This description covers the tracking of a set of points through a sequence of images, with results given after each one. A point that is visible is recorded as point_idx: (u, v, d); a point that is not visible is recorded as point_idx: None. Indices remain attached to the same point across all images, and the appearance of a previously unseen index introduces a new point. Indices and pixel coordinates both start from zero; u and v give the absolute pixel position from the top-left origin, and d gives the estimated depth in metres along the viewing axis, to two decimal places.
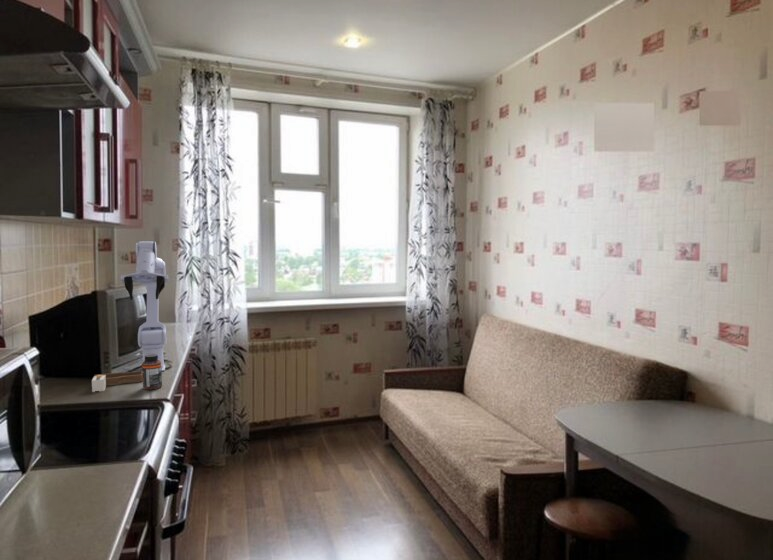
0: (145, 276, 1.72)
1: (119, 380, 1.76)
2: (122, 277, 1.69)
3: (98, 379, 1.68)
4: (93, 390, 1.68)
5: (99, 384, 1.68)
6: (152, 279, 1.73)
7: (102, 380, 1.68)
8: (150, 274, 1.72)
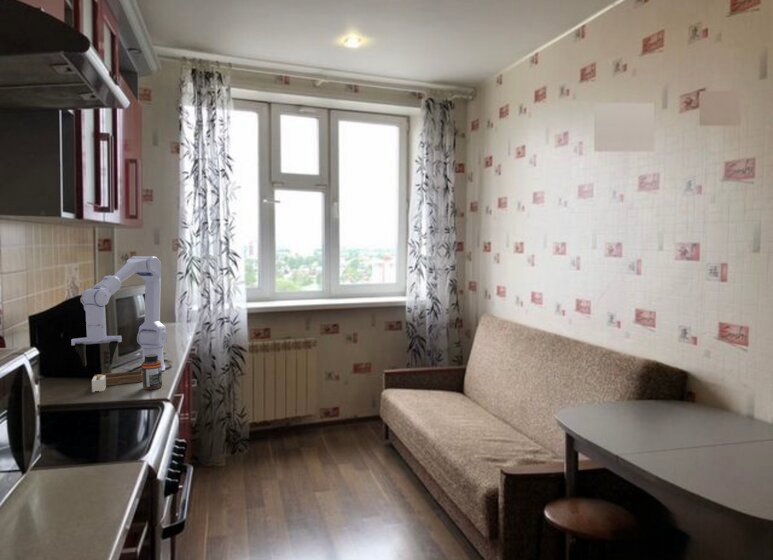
0: None
1: (119, 380, 1.76)
2: (73, 343, 1.66)
3: (98, 379, 1.68)
4: (93, 390, 1.68)
5: (99, 384, 1.68)
6: (104, 341, 1.70)
7: (102, 380, 1.68)
8: (102, 340, 1.68)
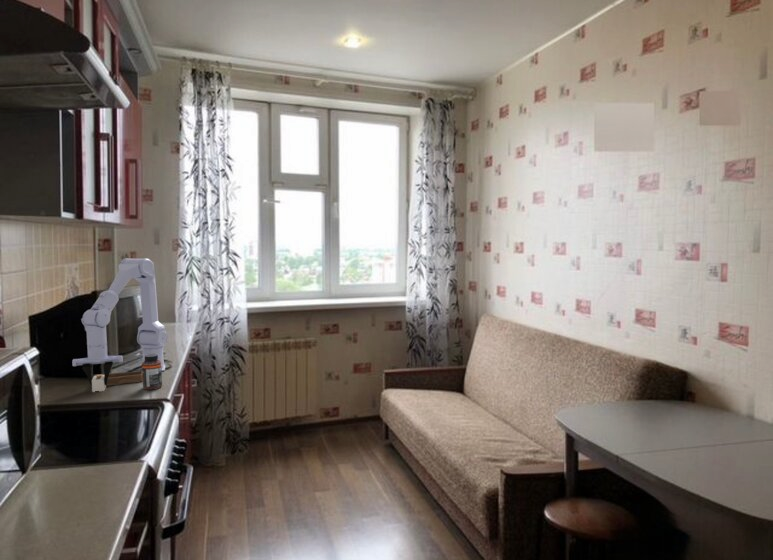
0: None
1: (119, 380, 1.76)
2: (74, 363, 1.67)
3: (98, 379, 1.68)
4: (93, 390, 1.68)
5: (99, 384, 1.68)
6: (105, 362, 1.71)
7: (102, 380, 1.68)
8: (103, 361, 1.69)
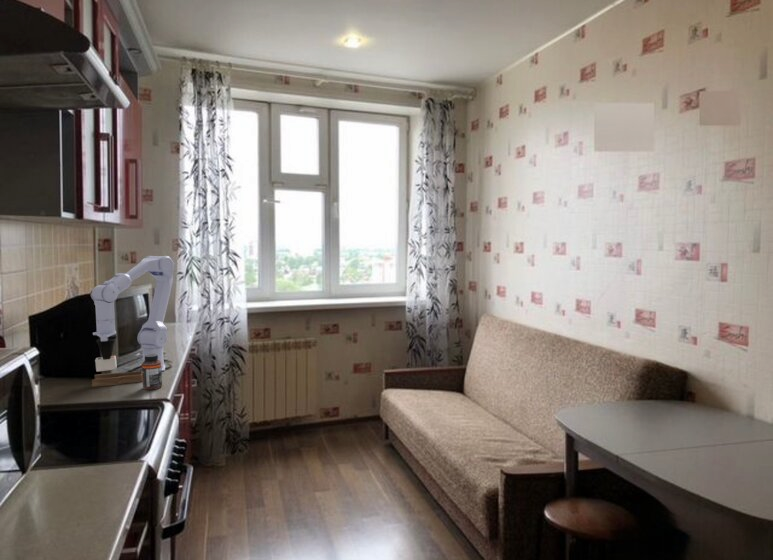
0: None
1: (119, 380, 1.76)
2: None
3: (97, 359, 1.76)
4: None
5: (96, 363, 1.76)
6: None
7: None
8: (98, 335, 1.75)
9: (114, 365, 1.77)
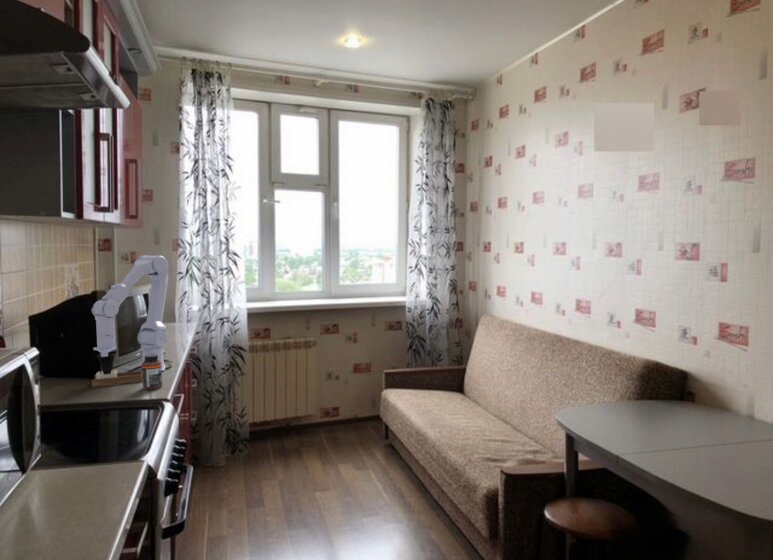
0: None
1: (119, 380, 1.76)
2: None
3: (98, 372, 1.77)
4: None
5: None
6: None
7: None
8: (99, 350, 1.75)
9: None
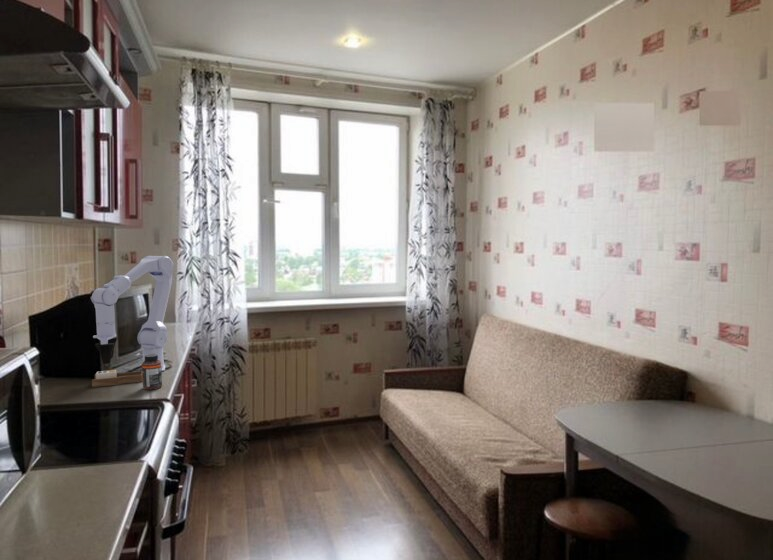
0: None
1: (119, 380, 1.76)
2: None
3: (98, 372, 1.77)
4: None
5: (96, 377, 1.77)
6: None
7: (96, 374, 1.76)
8: (99, 338, 1.75)
9: None
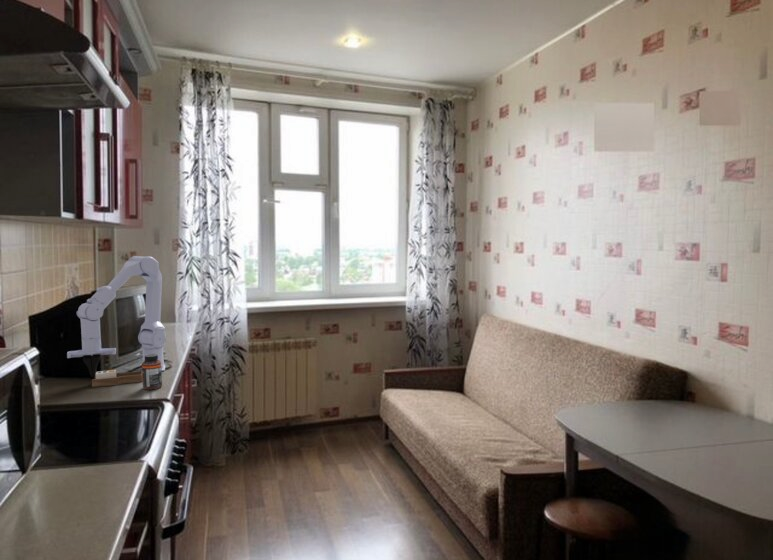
0: None
1: (119, 380, 1.76)
2: (68, 355, 1.72)
3: (98, 372, 1.77)
4: None
5: (96, 377, 1.77)
6: (99, 354, 1.76)
7: None
8: None
9: None
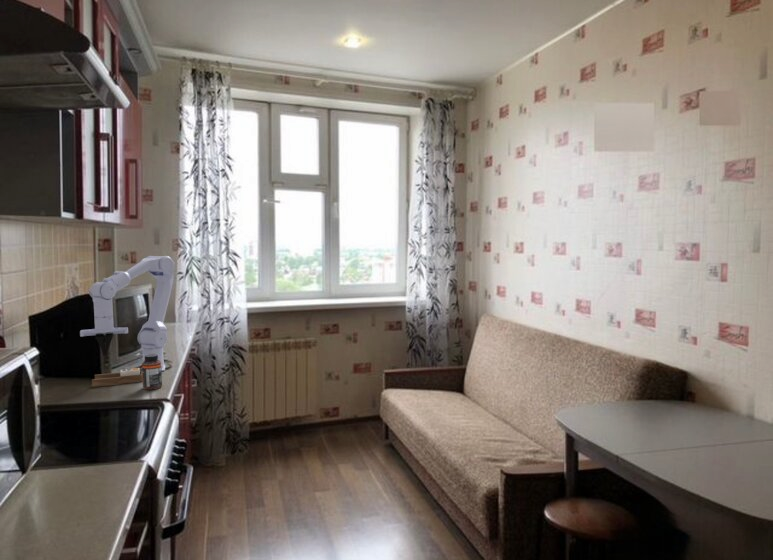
0: None
1: (119, 380, 1.76)
2: (81, 334, 1.73)
3: (122, 370, 1.80)
4: None
5: None
6: (112, 333, 1.77)
7: (120, 372, 1.78)
8: (109, 331, 1.76)
9: None
